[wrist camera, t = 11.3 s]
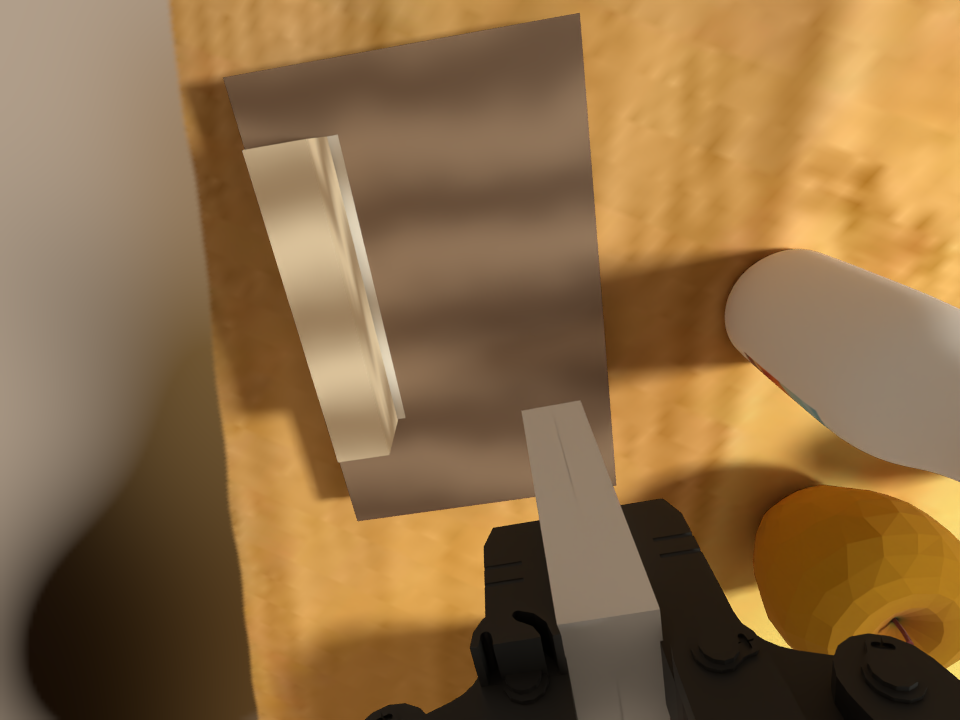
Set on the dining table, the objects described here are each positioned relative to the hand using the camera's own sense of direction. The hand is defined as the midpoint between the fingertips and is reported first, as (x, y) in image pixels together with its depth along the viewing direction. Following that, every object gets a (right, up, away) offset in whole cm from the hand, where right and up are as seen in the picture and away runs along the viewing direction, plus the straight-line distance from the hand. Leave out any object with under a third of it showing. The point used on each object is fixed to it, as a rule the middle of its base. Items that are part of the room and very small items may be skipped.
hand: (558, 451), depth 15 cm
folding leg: (-10, +6, +18) cm, 22 cm away
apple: (+23, -10, +29) cm, 39 cm away
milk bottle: (+17, +6, +22) cm, 29 cm away
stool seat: (-4, +6, +22) cm, 23 cm away
